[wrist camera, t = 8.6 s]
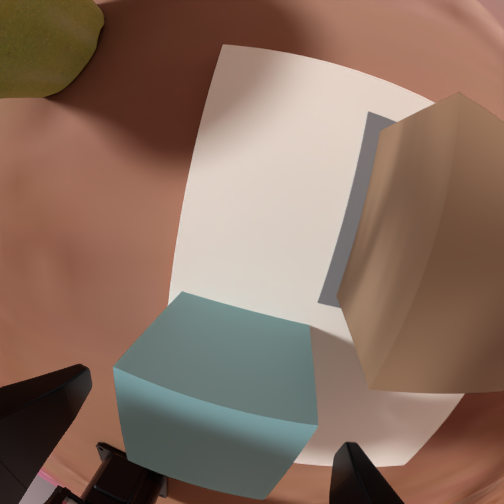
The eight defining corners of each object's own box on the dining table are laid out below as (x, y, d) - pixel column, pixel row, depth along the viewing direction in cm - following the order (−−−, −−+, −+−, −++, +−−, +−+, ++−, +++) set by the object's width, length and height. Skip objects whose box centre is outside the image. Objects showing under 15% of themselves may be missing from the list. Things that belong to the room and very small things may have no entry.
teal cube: (274, 410, 11) (263, 500, 7) (171, 382, 12) (127, 459, 7) (309, 324, 10) (318, 425, 5) (182, 291, 10) (113, 366, 6)
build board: (401, 454, 13) (404, 465, 12) (166, 418, 14) (160, 430, 13) (533, 178, 8) (546, 179, 7) (228, 54, 9) (222, 43, 8)
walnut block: (456, 322, 9) (518, 389, 4) (336, 295, 10) (368, 389, 5) (498, 188, 8) (585, 203, 3) (379, 131, 8) (459, 91, 3)
